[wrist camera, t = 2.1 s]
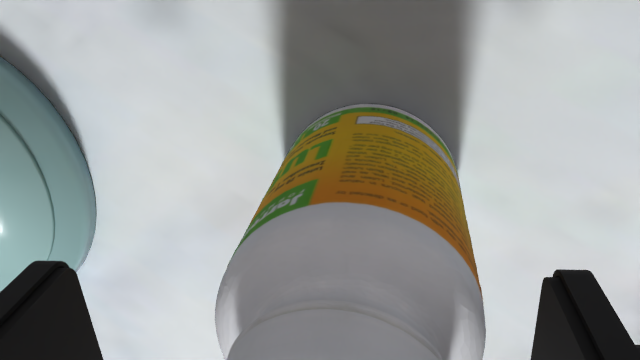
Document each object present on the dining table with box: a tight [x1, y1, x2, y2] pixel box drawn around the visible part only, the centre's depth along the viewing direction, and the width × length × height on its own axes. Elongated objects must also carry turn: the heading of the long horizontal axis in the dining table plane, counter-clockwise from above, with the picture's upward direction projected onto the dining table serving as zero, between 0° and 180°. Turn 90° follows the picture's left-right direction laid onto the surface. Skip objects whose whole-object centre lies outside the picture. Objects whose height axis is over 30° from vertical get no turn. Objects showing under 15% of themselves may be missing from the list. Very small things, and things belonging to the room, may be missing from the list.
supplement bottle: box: [215, 104, 486, 360], centre depth 12 cm, size 5×5×10 cm
